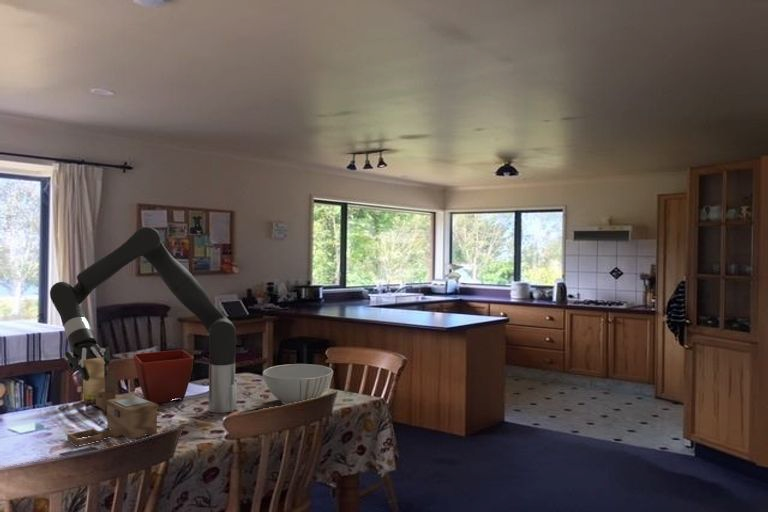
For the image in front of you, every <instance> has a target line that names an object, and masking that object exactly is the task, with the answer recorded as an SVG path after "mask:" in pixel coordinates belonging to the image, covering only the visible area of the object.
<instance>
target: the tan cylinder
mask: <svg viewBox="0 0 768 512" xmlns="http://www.w3.org/2000/svg"><path fill="white" fill-rule="evenodd" d="M84 363H85V367H86V369H87V372H88V374H89V376H90V378H89V380H88V381H85V380H83V379H82V393H83V392H85V393H87V394H94V393H100V392H105V388H104V359H101V358H91V359H86V360H84Z"/></svg>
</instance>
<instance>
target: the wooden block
mask: <svg viewBox="0 0 768 512" xmlns="http://www.w3.org/2000/svg"><path fill="white" fill-rule="evenodd" d="M101 357H102V359H104V356H101ZM106 369H107V371H108V374H107V376H106V377H105V378H104V388H105V392H100V393H97V396H96V402H95V406H97V407H98V408H100V409H101V410H103V411H104V412H106V413H107V404H106V400H110V399H116V371H110V372H109V365H108V366H106Z"/></svg>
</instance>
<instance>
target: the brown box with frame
mask: <svg viewBox="0 0 768 512" xmlns="http://www.w3.org/2000/svg"><path fill="white" fill-rule="evenodd" d="M106 404H107V412H106V417H107V418H106V419H107V420H106V426H107V429H108V428H109V429H108V430H107V429H106V430H103V431H98V430H96V429H95V428H90V429H87V430H83V431H82V430H81V431H77V432H74V433H67V435H66V436H67V439H66V440H68V441H70V442H72V443H73V444H75V445H77V446H79V445H83V444H88V443H92V442H96V441H101V440H104V441H105V439H104V438H108V437H112V438H115V437H114V436H116V437H120V436H119V435H121V436H122V435H123V436H122V437H124V436H125V437H124V438H126V437H127V438H126V439H128V440H132V439H131V438H133V439H136V438H135V437H137V438H141V437H144V436H143V435H145V434H150V435H153V434H156V433H158V429H157V428H158V414H157V413H158V409H159V403H153V402H151V401H148V400H146V399H145V398H143V397H141V396H139V395H135V394H133V395H128V396H122V397H117V398H116V397H115V399H110V400H106ZM110 429H111V430H110ZM88 436H91V437H88ZM140 436H141V437H140ZM145 436H146V435H145ZM82 437H87V438H82ZM78 438H82V439H78ZM108 439H109V438H108ZM68 441H67V442H68ZM70 442H69V443H70ZM101 442H102V441H101ZM72 443H71V444H72ZM73 444H72V445H73ZM75 445H74V446H75ZM88 445H89V444H88ZM77 446H76V447H77Z"/></svg>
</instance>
